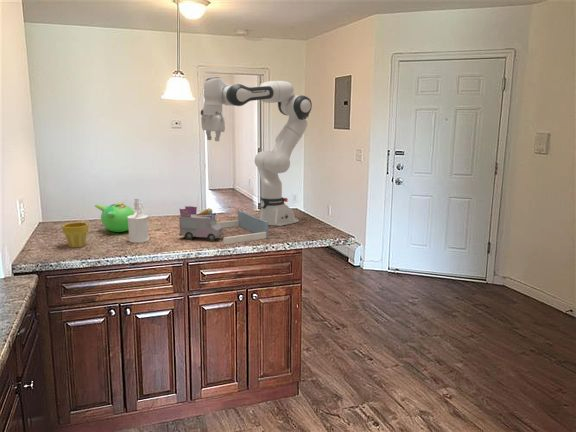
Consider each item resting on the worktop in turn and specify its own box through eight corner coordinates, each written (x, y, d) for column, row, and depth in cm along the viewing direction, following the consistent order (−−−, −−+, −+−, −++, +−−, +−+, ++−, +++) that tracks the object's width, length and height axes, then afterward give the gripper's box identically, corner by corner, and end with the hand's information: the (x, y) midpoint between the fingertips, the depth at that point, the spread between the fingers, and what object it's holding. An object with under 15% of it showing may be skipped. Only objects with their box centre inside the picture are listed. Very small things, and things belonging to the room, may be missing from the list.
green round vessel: (142, 231, 239) (141, 203, 236) (111, 237, 227) (109, 207, 224) (125, 225, 251) (123, 198, 248) (93, 231, 239) (91, 202, 236)
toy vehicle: (217, 242, 222) (217, 211, 218) (178, 239, 225) (177, 208, 222) (224, 237, 230) (223, 207, 227) (186, 234, 234) (185, 205, 231)
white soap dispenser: (132, 237, 228) (130, 196, 224) (151, 237, 228) (149, 196, 223) (124, 243, 218) (121, 200, 213) (144, 243, 217) (142, 201, 213)
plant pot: (69, 242, 218) (67, 221, 216) (92, 242, 219) (90, 221, 217) (60, 249, 208) (58, 227, 206) (85, 248, 209) (83, 227, 207)
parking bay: (239, 225, 255) (239, 210, 253) (268, 238, 230) (268, 222, 228) (199, 230, 243) (198, 215, 241) (224, 244, 218) (224, 227, 216)
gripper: (228, 112, 223) (228, 141, 226) (210, 111, 240) (210, 139, 243) (215, 111, 220) (215, 142, 223) (199, 111, 237) (199, 139, 239)
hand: (213, 140), depth 233 cm, fingers open, 8 cm apart
